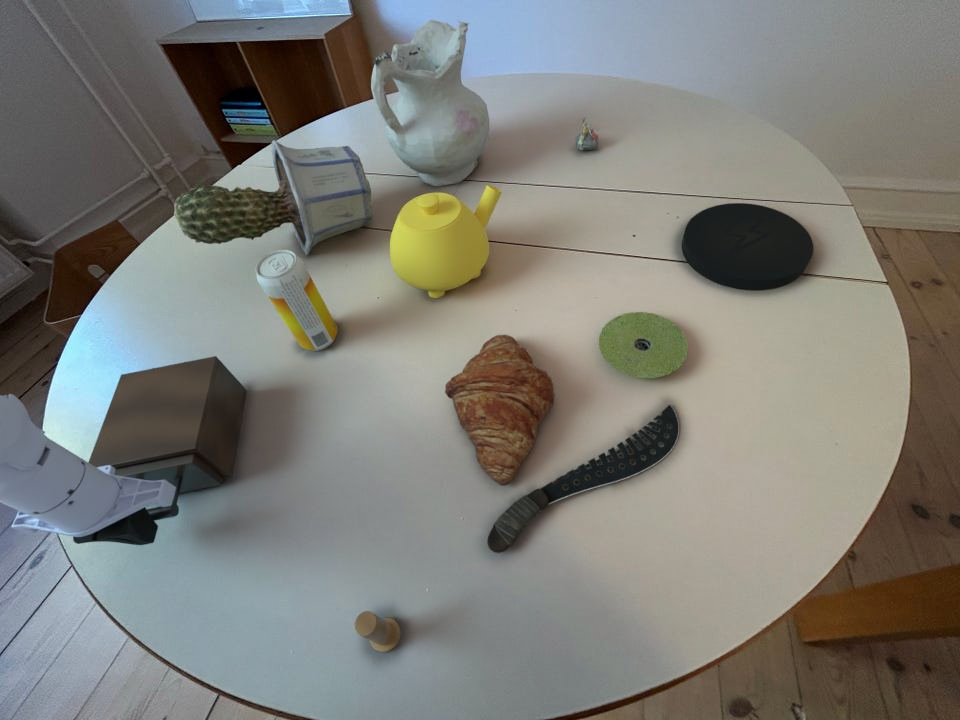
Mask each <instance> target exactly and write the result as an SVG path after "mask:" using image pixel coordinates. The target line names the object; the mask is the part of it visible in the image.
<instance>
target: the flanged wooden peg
mask: <svg viewBox="0 0 960 720" xmlns="http://www.w3.org/2000/svg"><path fill="white" fill-rule="evenodd" d="M354 631H355V632H356V634H357V635H359V636H360V637H363V638H364V639H366V640H368V641H369V642H370V645H371V647H372V648H373V649H374V650H376V651H377V652H379V653H388V652H390V651H392V650H394V649H395V648H396V647H397V645H398V644H399V641H400V639H401V627H400V624H399V623H398V621H396V620H395V619H393V618H392V617H389V616H388V617H380V616H379V615H377V614H375V613H374V612H372V611H370V610H365V611H362V612H361V613H359V614H358V615H357V617H356V619H355V620H354Z"/></svg>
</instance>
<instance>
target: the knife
mask: <svg viewBox="0 0 960 720" xmlns="http://www.w3.org/2000/svg"><path fill="white" fill-rule="evenodd" d="M669 426H671V427H669ZM656 429H658V430H656ZM640 435H641V436H640ZM651 435H653V436H654V437H652V436H651ZM665 435H667V436H668V437H666V436H665ZM679 435H680V423H679V419H678V416H677V413H676V411H675V409H674V407H673V406H672V405H671V404H668V405H667V406H666V407H665V408H664V409H663V410H662V411H661V413H660V414H658V415H656V416H655V417H654V418H653V421H651V420H650V421H649V422H648V423H647V424H646V425H644V426H643V427H642V429H641V428H640V429H639V430H637V432H634V433H633V434H631V436H628V437H627V438H625V439H624V440H625V442H626V444H627V445H625V444H624V442H623V441H620V442H619V443H617V444H616V446H617V448H618V449H617V450H616V449H615V446H612V447H611V448H609V449H608V450H607V452H608V454H606V453H605V452H602V453H600V454H598V458H597V459H596V458H595V457H593V458H591V459H589V460H587V462H588V463H587V464H585V463H582V464H580V465H579V466H577V468H573V469H571V470H569V471H568V472H566V473H565V474H563V475H560V476H558V477H557V478H556V479H555V480H554V481H550V482H549V483H547V484H545V485H544V486H542V487H540V488H536V489H534V490H532V491H531V492H529V493H528V494H525V495H523V496H522V497H521V498H520V497H519V499H518V500H516V501H515V502H514V503H513V504H512V505H510V506H509V507H508V508H507V509H506V510H505V511H503V513H502V514H500V515H499V516H498V517H497V519H496V521H495V522H494V523H493V525H492V528H491V530H490V532H489V534H488V537H487V543H486V544H487V546H488V548H489V550H490V551H492V552H493V553H495V554H501V553H504V552H506V551H507V550H508V549H509V548H511V547H512V546H513V545H514V543H515V541H516V540H517V539H518V537H519V536H520V534H521V533H522V532H523V530H524V528H526V527H527V524H529V522H530V521H531V520H533V519H534V518H535V517H537V515H539V514H541V512H542V511H544V510H545V509H547V508H548V506H549V505H551V504H553V503H555V502H558V501H560V500H562V499H566V498H568V497H571V496H574V495H576V494H579V493H582V492H586V491H589V490H592V489H595V488H599V487H603V486H607V485H610V484H614V483H617V482H621V481H623V480H626V479H629V478H631V477H634V476H636V475H639V474H640V473H642V472H644V471H646V470H648V469H650V468H652V467H653V466H655V465H657V464H658V463H660V462H661V461H662V460H663V459H665V458H666V457H667V456H668V455H669V454H670V453H671V452H672V450H673V449H674V448H675V446H676V444H677V442H678V439H679ZM631 437H633V439H634V440H633V439H632V438H631ZM645 440H646V441H647V442H648V443H646V442H645ZM660 444H662V445H663V446H660ZM637 445H639V446H640V447H641V449H640V448H639V447H638V446H637ZM629 450H631V452H632V453H630V452H629ZM652 451H654V453H652ZM620 454H621V455H622V456H621V457H620V456H619V455H620ZM642 457H644V458H645V459H643V458H642ZM609 459H612V460H609ZM632 461H633V462H634V464H632ZM621 465H622V466H623V468H622V467H620V466H621ZM609 469H612V471H609ZM597 473H600V475H598V474H597ZM586 477H589V479H586ZM575 481H576V482H577V481H578V484H576V483H575ZM564 486H566V487H567V488H566V489H565V488H564Z"/></svg>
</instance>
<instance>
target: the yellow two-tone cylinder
mask: <svg viewBox="0 0 960 720" xmlns="http://www.w3.org/2000/svg"><path fill="white" fill-rule="evenodd" d="M255 273H256V280H257V282H258V283H259V285H260V286H261V288H262V290H263V291H264V293H265V294H266V297H268V299H269V300H270V302H271V303H272V305H273V307H274V308H275V309H276V311H277V313H278V314H279V316H280V317H281V318H282V320H283V322H284V324H285V325H286V326H287V328H288V329H289V331H290V332H291V334H292V336H293V337H294V338H295V341H296V342H297V343H298V345H299V346H300V347H301V348H302V349H304V350H308V351H315V352H317V351H321V350H324V349H326V348H328V347H330V346H331V345H332V344H333V343H334V341H335V339H336V338H337V335H338V326H337V323H336V322H335V320H334V317H333V316H332V314H331V313H330V310H329V309H328V307H327V305H326V303H325V301H324V299H323V297H322V296H321V294H320V292H319V290H318V288H317V286H316V284H315V282H314V280H313V279H312V276H311V275H310V273H309V271H308V268H307V267H306V265H305V264H304V262H303V260H302V258H301V257H300V256H298V255H296V254H295V252H294V251H291V250H289V249H278V250H277V249H276V250H274V251H271V252H268V253H267V254H265V255H264V256H262V257H261V258H259V260H258V261H257V263H256V264H255Z"/></svg>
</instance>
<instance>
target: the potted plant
mask: <svg viewBox="0 0 960 720" xmlns="http://www.w3.org/2000/svg"><path fill="white" fill-rule="evenodd" d="M271 157H272V163H273V168H274V172H275V175H276V179H277V182H278V186H279V187H278V188H277V190H275V191H266V190H262V189H259V188H257V189H255V188H252V187H251V186H249V187H248V186H247V187H246V188H240V187H239V186H235V187H234V188H233V189H232V190H229V188H227V187H223V186H220V185H219V186H218V185H211V184H208V185H206V186H205V184H203V185H199V186H197V187H193V188H190V189H189V191H188V192H185V193H181V196H178V197H177V198H176V199H175V202H174V206H173V208H174V212H173V216H174V219H175V220H176V222H177V223H178V226H179V228H180V230H181V232H182V233H183V234H184V236H187V237H188V238H189V239H190V240H194V241H195V242H196V243H203V244H207V245H213V244H217V245H221V244H222V243H224V244H225V243H229V242H231V241H233V240H235V239H240V238H241V239H249V240H252V241H253V240H255V239H257V238H262V237H263V235H264V234H267V233H269V232H271V231H272V230H275V229H277V228H280V227H281V226H282V225H283V224H291V228H292V230H293V233H294V234H295V237H296V240H297V242H298V243H299V244H300V245H299V246H300V248H301V249H302V250H303V252H304V254H305V255H309V254H310V252H311V251H312V248H313V247H314V246H315V245H317V244H318V243H320V242H321V241H324V240H327V239H329V238H332V237H335V236H338V235H341V234H343V233H346V232H349V231H353V230H356V229H361V228H363V227H366V226H367V225H368V224H370V222H371V221H372V220H373V214H374V207H373V203H372V202H373V201H372V190H371V189H372V188H371V185H370V181H369V180H368V179H367V176H366V172H365V169H364V166H363V164H362V161H361V158H360V156H359V154H357V153H356V152H355V151H354V150H353V148H351V146H349V145H344V146H328V147H326V146H325V147H315V148H293V147H287V146H285V145H283V144H281V143H280V142H278V141H277V140H275V139H274V140H272V141H271Z"/></svg>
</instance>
